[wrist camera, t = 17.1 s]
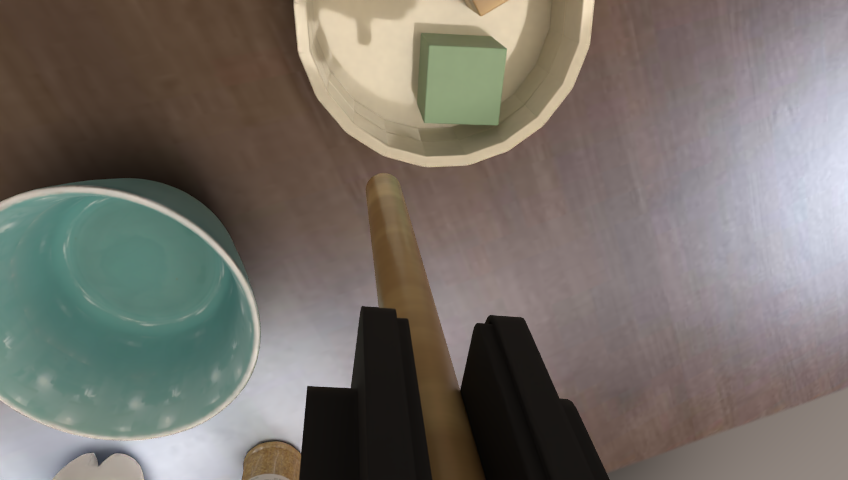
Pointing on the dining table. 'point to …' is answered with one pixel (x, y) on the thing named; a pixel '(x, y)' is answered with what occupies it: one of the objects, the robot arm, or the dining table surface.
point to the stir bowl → (399, 69)
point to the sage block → (460, 79)
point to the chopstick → (420, 332)
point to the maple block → (483, 5)
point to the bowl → (121, 310)
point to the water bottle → (101, 468)
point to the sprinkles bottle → (272, 462)
